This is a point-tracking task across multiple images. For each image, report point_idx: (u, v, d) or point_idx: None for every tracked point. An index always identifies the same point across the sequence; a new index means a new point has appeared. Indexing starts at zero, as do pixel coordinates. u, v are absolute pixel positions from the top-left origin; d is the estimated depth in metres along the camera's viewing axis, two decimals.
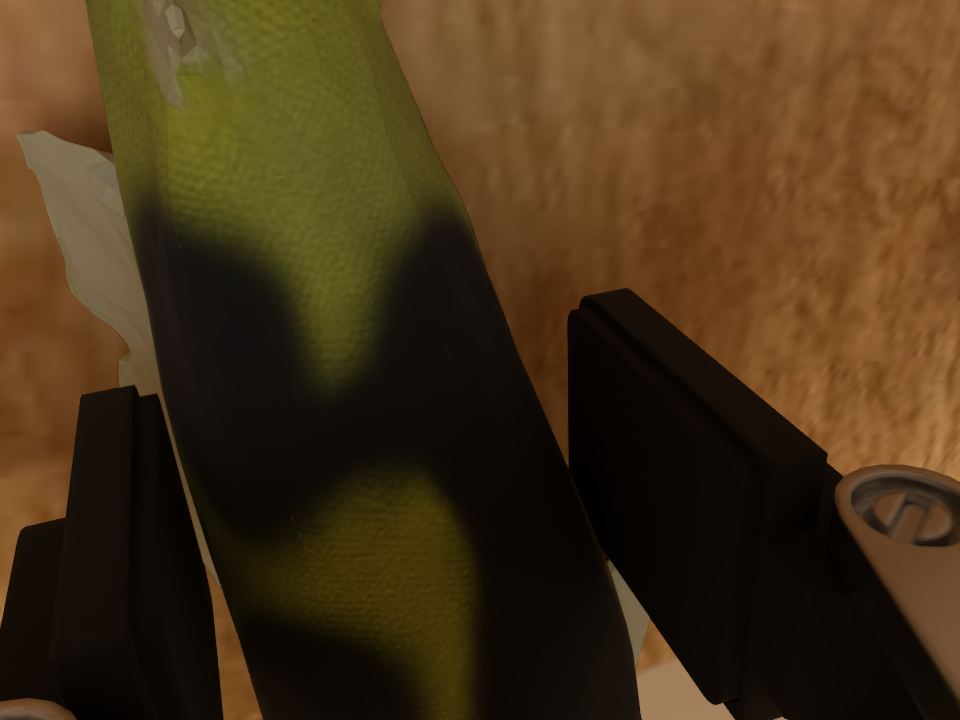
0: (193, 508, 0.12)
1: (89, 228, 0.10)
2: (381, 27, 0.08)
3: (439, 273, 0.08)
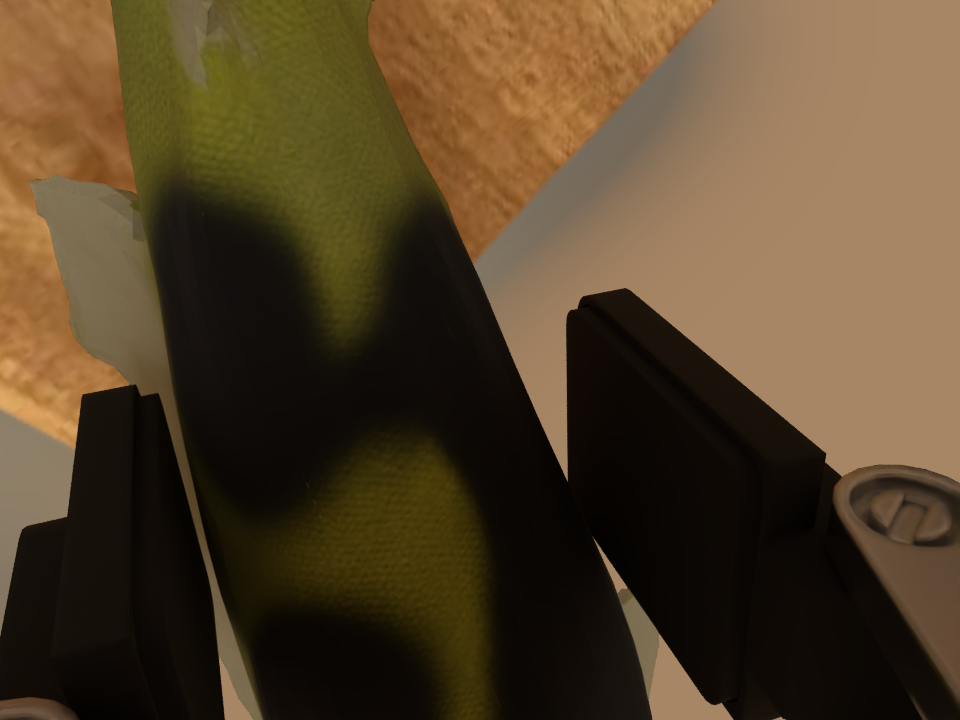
0: None
1: (97, 263, 0.10)
2: (370, 47, 0.09)
3: (435, 251, 0.08)
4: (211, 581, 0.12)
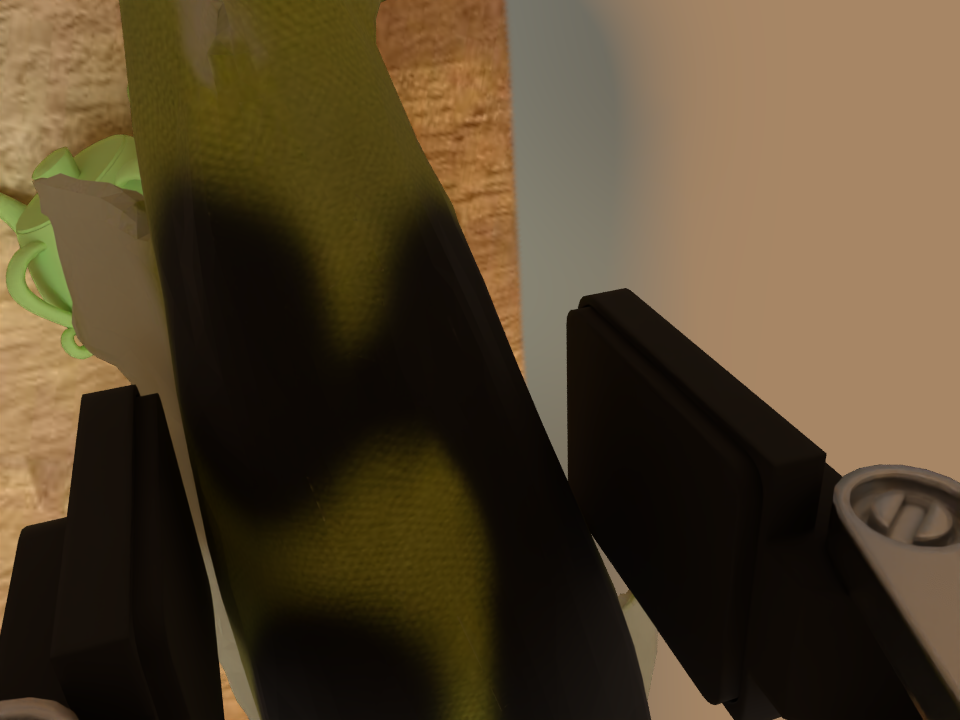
0: None
1: (100, 262, 0.10)
2: (377, 49, 0.09)
3: (440, 253, 0.08)
4: (211, 582, 0.12)
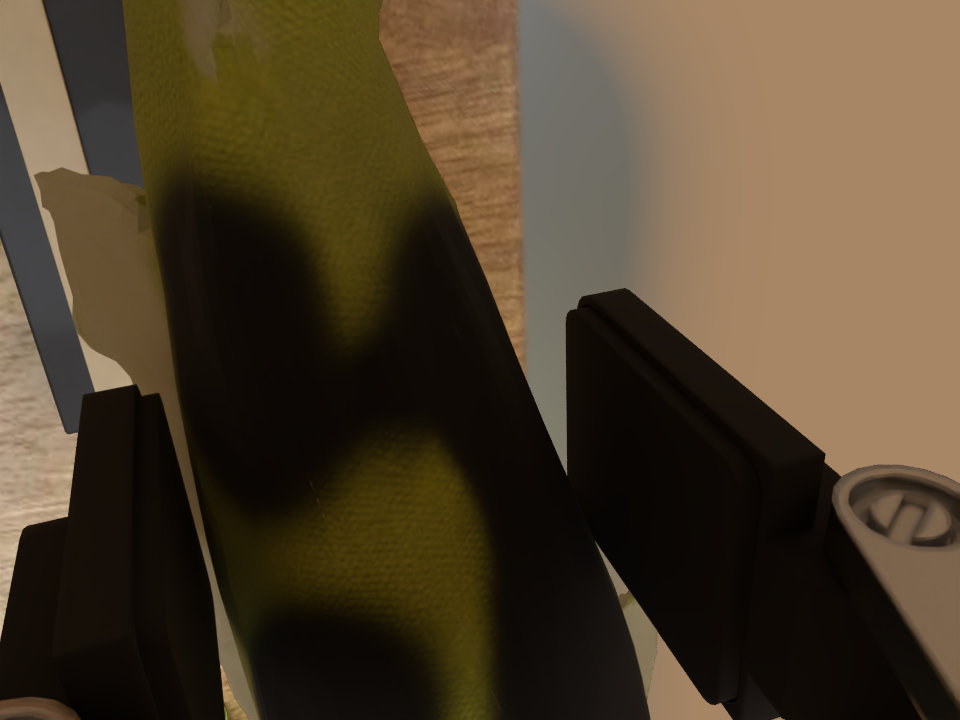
0: None
1: (101, 256, 0.10)
2: (380, 44, 0.09)
3: (443, 249, 0.08)
4: (209, 579, 0.12)
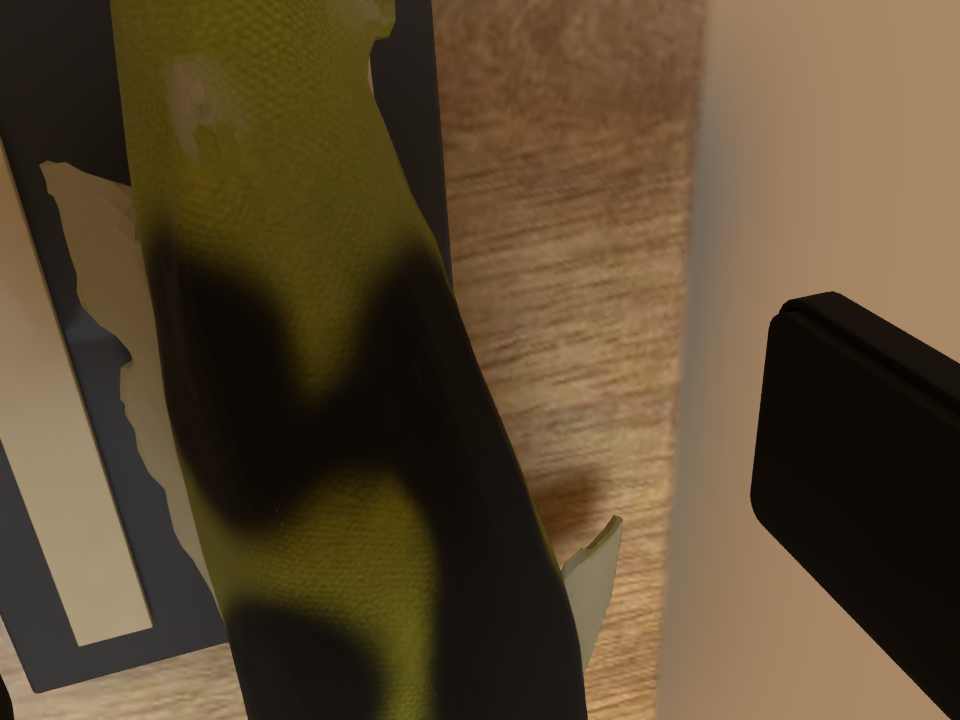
0: (183, 504, 0.13)
1: (101, 249, 0.11)
2: (367, 89, 0.09)
3: (411, 302, 0.09)
4: None
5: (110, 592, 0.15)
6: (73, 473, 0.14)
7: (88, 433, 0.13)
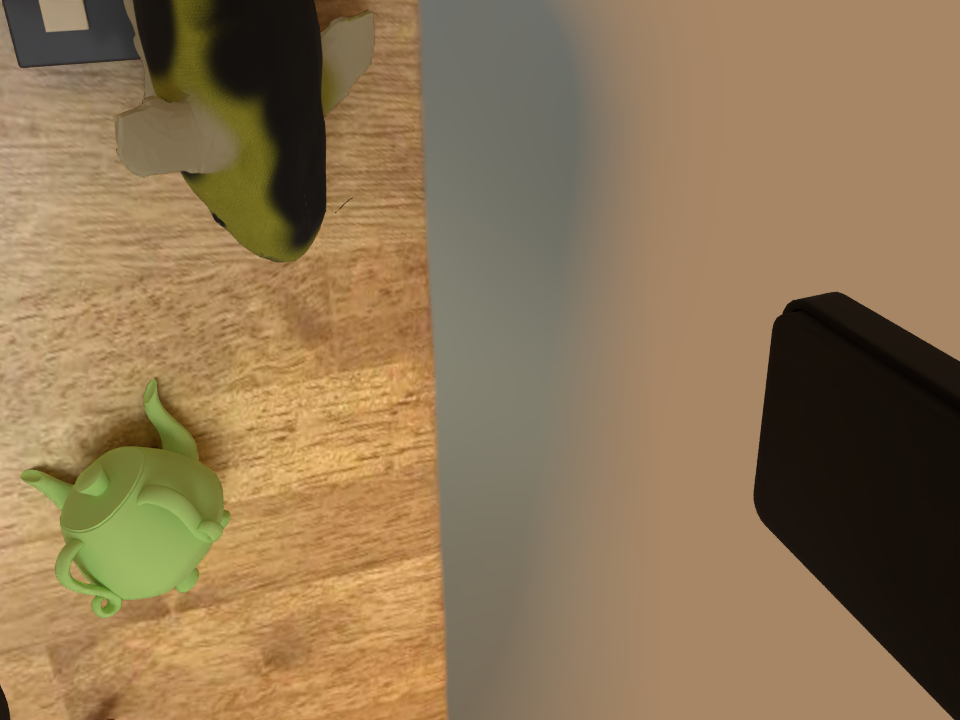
0: None
1: None
2: None
3: None
4: None
5: None
6: None
7: None
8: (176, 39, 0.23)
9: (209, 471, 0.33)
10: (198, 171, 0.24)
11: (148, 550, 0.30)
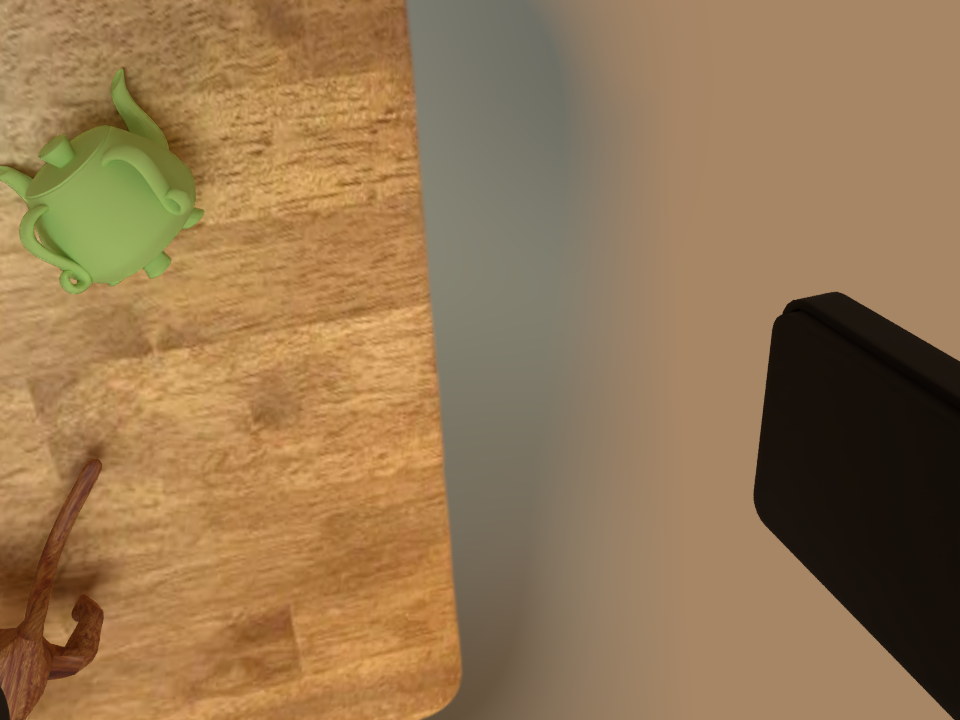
0: None
1: None
2: None
3: None
4: None
5: None
6: None
7: None
8: None
9: (179, 159, 0.32)
10: None
11: (114, 212, 0.29)
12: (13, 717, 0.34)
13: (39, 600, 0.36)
